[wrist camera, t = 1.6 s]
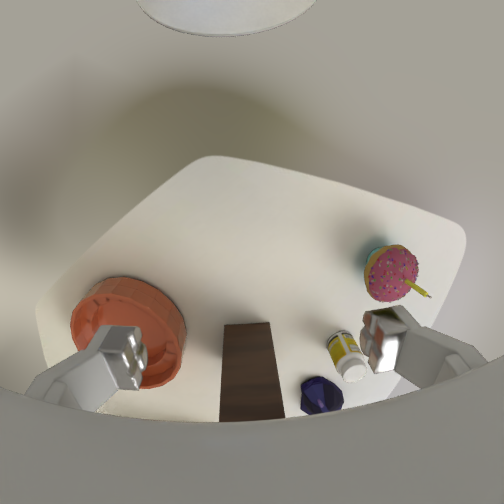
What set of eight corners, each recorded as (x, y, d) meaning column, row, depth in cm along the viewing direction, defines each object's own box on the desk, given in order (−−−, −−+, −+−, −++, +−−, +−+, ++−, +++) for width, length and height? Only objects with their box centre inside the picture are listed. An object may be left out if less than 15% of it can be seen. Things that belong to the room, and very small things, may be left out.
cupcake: (403, 233, 39) (449, 263, 28) (399, 283, 42) (437, 322, 31) (354, 238, 39) (393, 273, 28) (352, 290, 42) (383, 335, 31)
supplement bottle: (328, 355, 47) (340, 388, 39) (324, 335, 45) (338, 369, 37) (353, 347, 47) (369, 378, 39) (351, 327, 45) (369, 358, 37)
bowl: (70, 316, 42) (55, 335, 37) (123, 251, 39) (106, 268, 33) (145, 379, 48) (137, 401, 42) (210, 331, 44) (207, 355, 38)
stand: (224, 324, 44) (216, 480, 19) (269, 322, 44) (294, 475, 19) (229, 362, 46) (226, 503, 22) (270, 359, 47) (289, 499, 22)
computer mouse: (311, 421, 54) (314, 435, 50) (282, 387, 49) (285, 403, 46) (349, 404, 53) (354, 418, 49) (328, 367, 48) (333, 382, 44)
